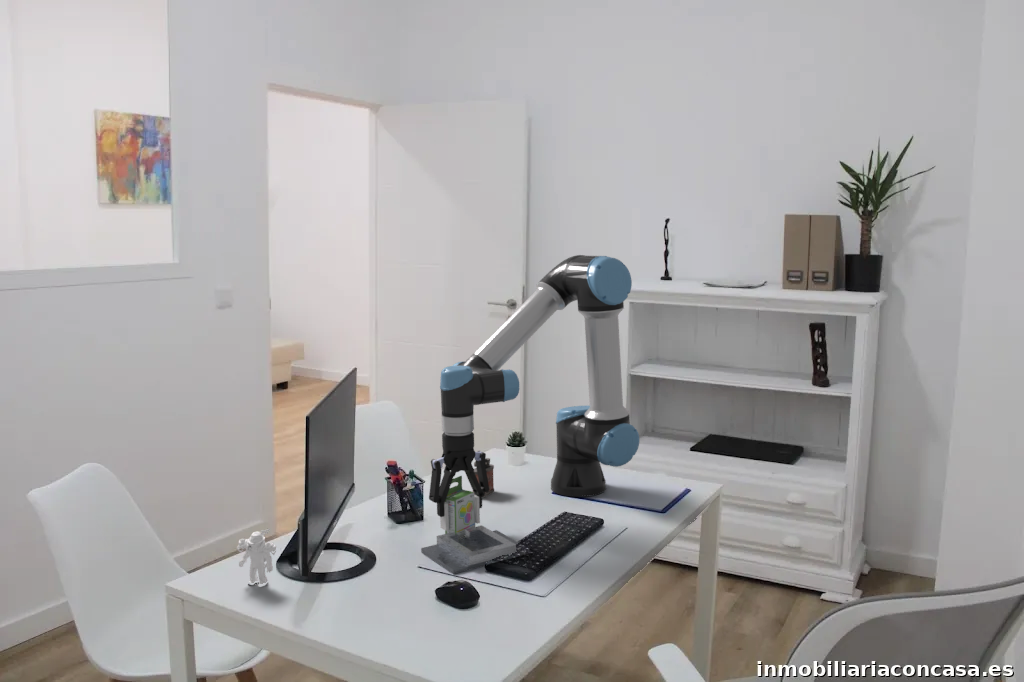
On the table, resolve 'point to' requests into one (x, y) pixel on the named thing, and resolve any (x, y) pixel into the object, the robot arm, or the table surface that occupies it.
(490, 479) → the lighter
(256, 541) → the flower shoulder figurine
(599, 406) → the robot arm
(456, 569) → the chassis plate
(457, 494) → the ink box
